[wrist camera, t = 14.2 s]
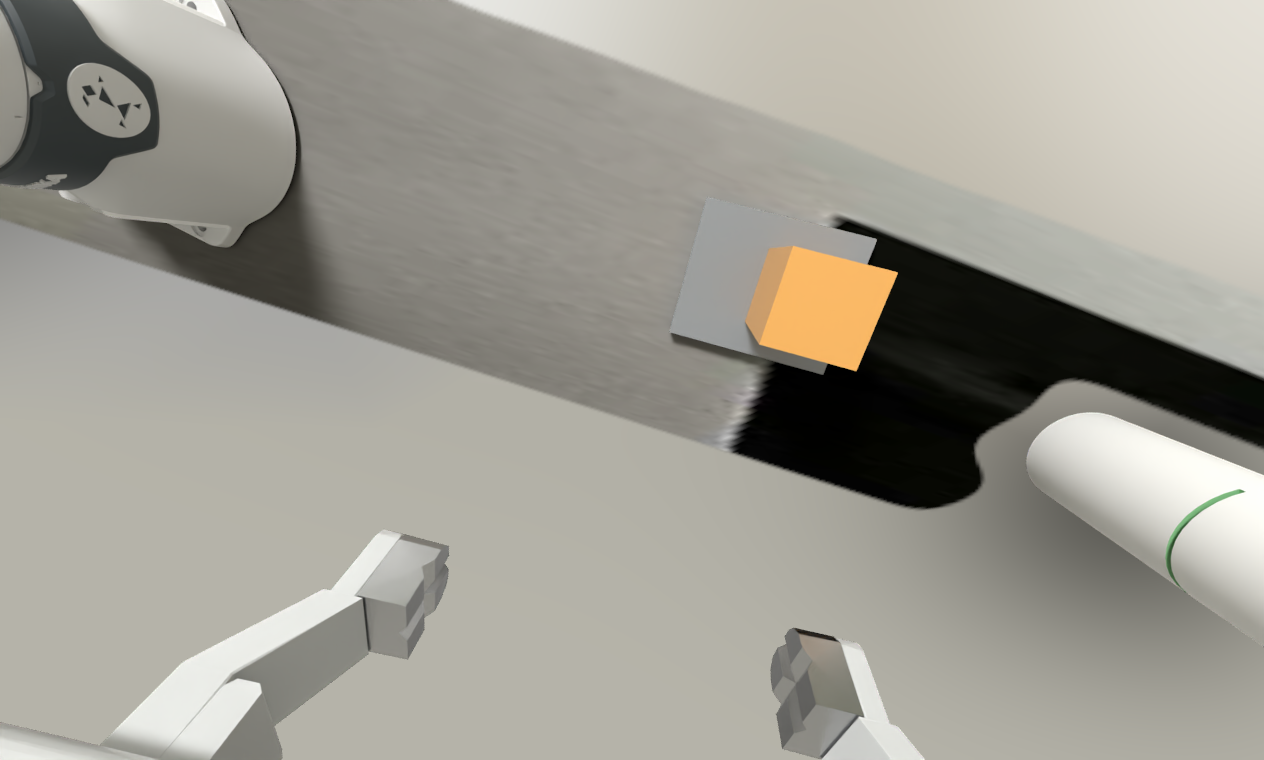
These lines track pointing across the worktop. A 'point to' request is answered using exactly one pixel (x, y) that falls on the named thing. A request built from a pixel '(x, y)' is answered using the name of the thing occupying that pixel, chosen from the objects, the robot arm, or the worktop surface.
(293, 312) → the worktop surface
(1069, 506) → the cylindrical container
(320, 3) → the worktop surface
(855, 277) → the orange rectangular block
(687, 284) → the plate
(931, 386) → the worktop surface
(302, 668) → the robot arm
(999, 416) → the worktop surface
